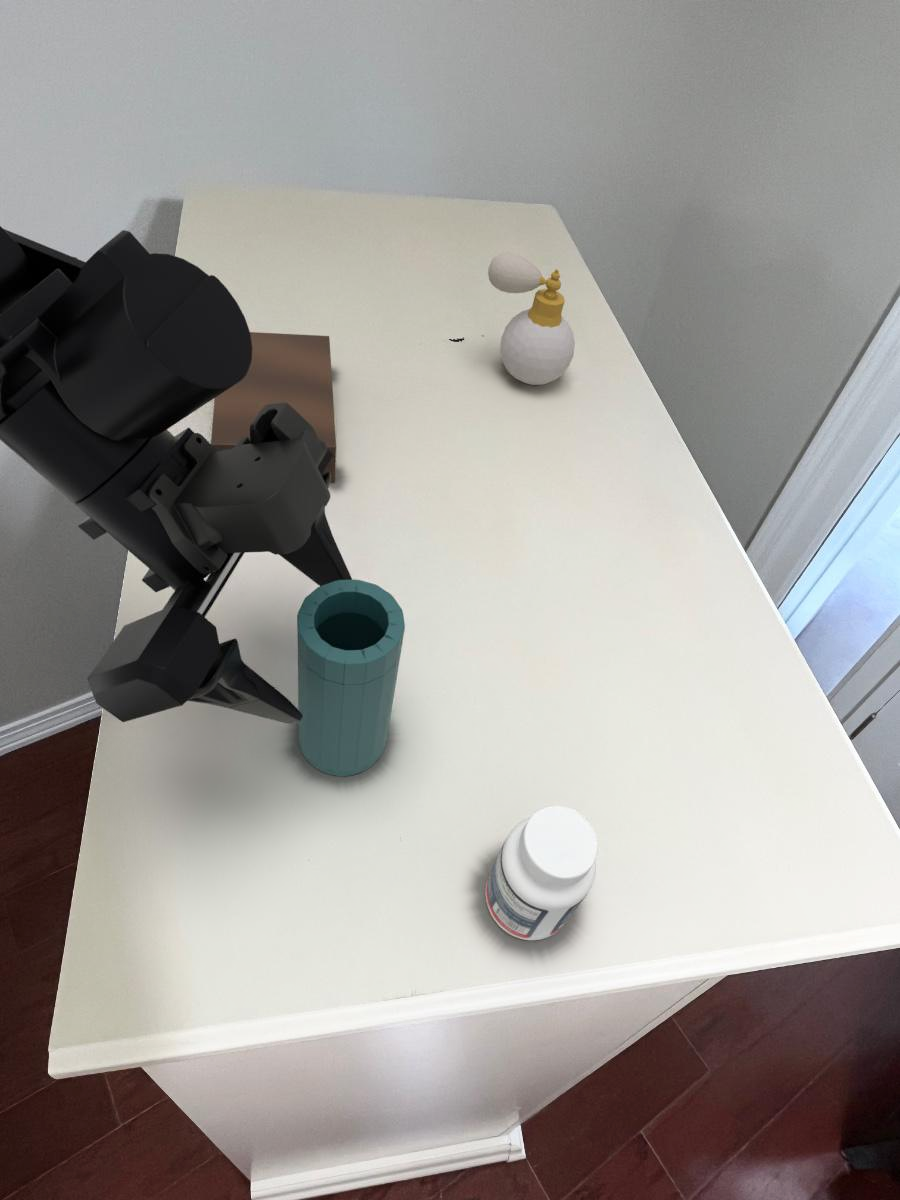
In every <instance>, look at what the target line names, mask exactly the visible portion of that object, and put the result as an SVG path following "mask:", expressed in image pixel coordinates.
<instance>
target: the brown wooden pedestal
mask: <svg viewBox="0 0 900 1200" xmlns="http://www.w3.org/2000/svg"><path fill="white" fill-rule="evenodd" d="M250 334H251V341H252V362H251V364H250V367H249V370H248V372H247V374H246V376H245V377H244V378H243V379H242V380H241V381H240V382H238V383H237V384H235V385H234V386H232V387H231V388H229V389H227V390H226V391H224V392H223V393H221V394H220V395H218V396H217V397H215V398H214V399H213V400H214V401H213V402H214V403H213V413H212V425H211V435H210V436H211V437H210V444H211V445H213V446H214V447H216V448H218V449H219V450H221V451H223V450H230V449H232V448H234V447H235V446H236V445H237V443H238V442H239V440H240V439H241V438H242V437H248V438H249V440H250V425H251V423H252V422H253V421H254V419H255V418H256V417H257V415H258V414H259V412H260V411H261V410H262V408H263V407H264V406H265V405H267V404H275V403H284V402H287V403H288V404H289V405H290V406H291V407H292V408H293V409H294V410H295V411H297V412H298V413H299V414H300V415H301V416H302V417H303V418H304V419H305V420H306V421H307V422H308V423H309V424H310V425H311V426H312V427H313V429H314V430H315V433H316V435H317V437H318V438H319V439H320V440H322V441H323V442H324V443H325V444H326V446H327V449H328V450H329V451H330V452H331V453H332V454H333V457H332V458H331V460H330V462H329V464H328V465H327V467H326V469H325V470H324V472H327V471H329V472H330V474H331V482H330V483H331V484H332V483H335V482H336V465H337V464H336V462H337V436H336V421H335V405H334V390H333V387H334V386H333V372H332V356H331V339H330V335H317V334H316V335H315V334H314V335H313V334H300V333H299V334H297V333H296V334H295V333H275V332H256V331H250ZM324 472H323V473H324Z"/></svg>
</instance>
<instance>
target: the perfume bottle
mask: <svg viewBox="0 0 900 1200" xmlns="http://www.w3.org/2000/svg"><path fill="white" fill-rule="evenodd" d="M559 272H560V270H559V269H558V268H554V271H553V272H551V274H550V277H549V278H547V279H546V278H544V276H543V274H542V273H541V271H540V269H539V268H538V267H537V266H536V265H535V264H534V263H533V262H532V261H530V260H529V259H527V258H526V257H525V256H522V255H520V254H518V253H514V252H501V253H498V254H497V255H495V256H494V257H493V258H492V259H491V260H490V263H489V265H488V271H487V277H488V280H489V282H490V284H491V285H492V286H493V287H494V288H495V289H496V290H499V292H503V293H506V294H507V293H508V294H522V293H524V294H525V293H528V292H532V291H533V290H536V289H537V288H540V287H541V286H543V285H545V288H541V289H538V290H537V291H536V292H535V293H534V298H533V302H532V306H531V307H530V308H527V309H525V310H522V311H521V312H519V313H517V314H516V315H515V316H513V317H512V318H511V319H510V320H509V322H508V323H507V325H506V326H505V327H504V330H503V333H502V335H501V338H500V347H499V348H500V349H499V351H500V357H501V360H502V363H503V365H504V368H506V369H505V370H506V371H507V372H508V373H509V374H510V375H511V376H512V377H513V378H514V379H516V380H518V381H520V382H522V383H524V384H527V385H532V386H539V385H541V386H542V385H546V384H549V383H551V382H554V381H555V380H557V379H559V378H560V377H562V375H563V374H564V373H565V372H566V370H567V369H568V368H569V367H570V366H571V365H570V364H571V362H572V360H573V358H574V354H575V346H576V341H575V337H574V332H573V330H572V328H571V326H570V324H569V322H568V321H567V320H566V319H565V318H564V317H563V316H562V313H563V309H564V305H565V296H564V295H563V294H562V293H560V292H559V290H560V289H561V287H562V282H561V281H560V278H561V274H560V273H559Z"/></svg>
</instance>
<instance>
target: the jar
mask: <svg viewBox="0 0 900 1200" xmlns="http://www.w3.org/2000/svg"><path fill="white" fill-rule="evenodd" d="M296 628H297V629H296V632H297V633H296V634H297V635H296V637H297V638H296V639H297V641H296V643H297V700H298V701H297V704H298V707H297V709H298V710H299V711H300V712H301V713H302V715H303V717H302V719H301V721H300V722H298V742H299V743H298V744H299V747H300V750H301V753H302V755H303V756H304V758H305V760H306V761H307V762H308V763H309V764H310V765H311V766H312V767H314V768H315V769H317V770H318V771H320V772H322V773H325V774H327V775H330V776H335V777H348V776H353V775H358V774H360V773H363V772H365V771H366V770H368V769H370V768H371V767H373V765H375V763H377V762H378V760H379V759H380V758H381V756H382V755H383V753H384V750H385V746H386V743H387V739H388V734H389V728H390V722H391V716H392V710H393V704H394V698H395V692H396V684H397V679H398V672H399V667H400V662H401V661H400V660H401V656H402V655H401V653H402V647H403V640H404V636H405V630H406V625H405V616H404V612H403V609H402V607H401V606H400V604H399V603H398V602H397V600H396V598H395V597H394V595H392V594H391V593H390V592H388V591H387V590H385V589H383V588H382V587H381V586H380V585H378V584H375V583H371V582H369V581H364V580H360V579H352V580H338V581H334V582H331V583H328V584H325V585H322V586H317V587H316V588H315V589H314V590H312V591H311V592H310V593H309V594H308V595H307V596H305V598H304V599H303V601H302V603H301V605H300V608H299V609H298V612H297V615H296Z"/></svg>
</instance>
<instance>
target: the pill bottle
mask: <svg viewBox="0 0 900 1200" xmlns="http://www.w3.org/2000/svg"><path fill="white" fill-rule="evenodd" d="M597 838H598V837H597V833H596V832H595V829H594V827H593V826H592V825H591V823H590V821H588V820H587V818H586V817H585V816H584V815H582V814H581V813H580V812H578V811H577V810H575V809H573V808H571V807H567V806H564V805H555V804H554V805H549V806H548V805H547V806H544V807H542V808H540V809H538V810H537V811H534V813H533V814H532V815H531V816H530V817H528V818H526V819H523V820H521V821H520V822H518V823H517V824H516V825H515V826H514V827H513V828H512V829H511V830H510V832H509V833H508V835H507V836H506V838H505V840H504V841H503V844H502V847H501V849H500V850H499V852H498V854H497V857H496V859H495V861H494V863H493V865H492V867H491V868H490V871H489V873H488V877H487V880H486V883H485V901H486V905H487V908H488V911H489V913H490V916H491V918H492V919H493V920H494V922H495V923H496V924H497V925H498V926H499V928H501V929H502V930H503V931H504V932H506V933H507V934H509V935H510V936H512V937H514V938H516V939H517V938H518V939H521V940H525V941H538V940H544V939H547V938H549V937H551V936H553V935H555V934H556V933H557V932H558V931H560V930H561V929H562V928H563V927H564V926H565V924H566V923H567V921H568V920H569V919H570V918H571V917H572V915H573V914H574V913H575V911H576V910H577V909H578V907H579V906H580V905H581V903H582V902H583V901H584V899H585V898H586V897H587V896H588V894H589V893H590V890H591V889H592V887H593V885H594V881H595V878H596V873H597V862H596V860H597V856H598V852H599V843H598V839H597Z"/></svg>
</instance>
